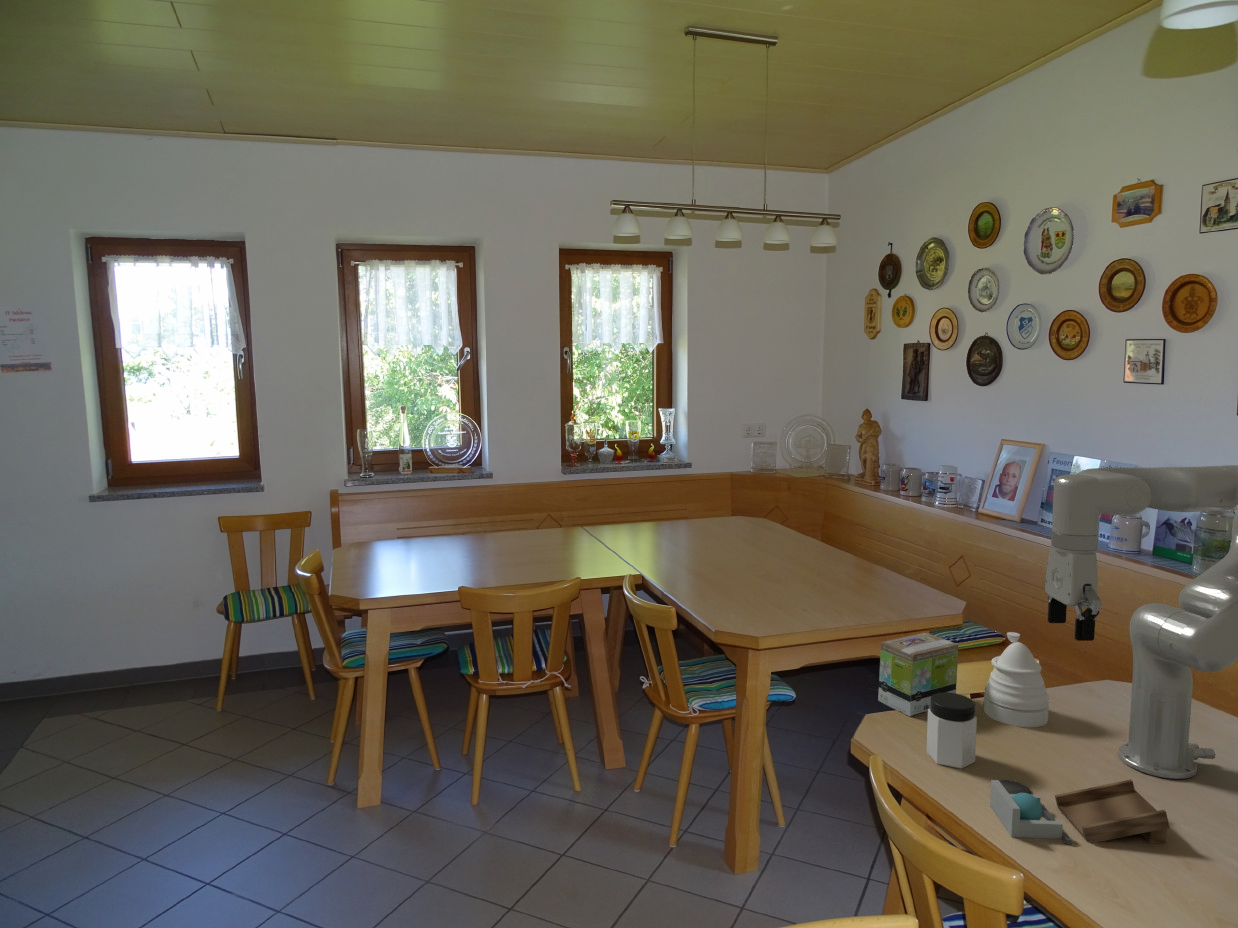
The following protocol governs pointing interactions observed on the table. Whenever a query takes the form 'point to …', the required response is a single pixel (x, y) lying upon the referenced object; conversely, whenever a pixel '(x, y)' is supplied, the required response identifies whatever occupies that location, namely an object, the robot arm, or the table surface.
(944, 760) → the jar
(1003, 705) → the honey pot
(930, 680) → the tea box
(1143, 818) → the ramp
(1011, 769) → the table surface
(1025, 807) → the ball
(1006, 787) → the dark grey disc
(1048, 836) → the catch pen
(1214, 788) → the table surface
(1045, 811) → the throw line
